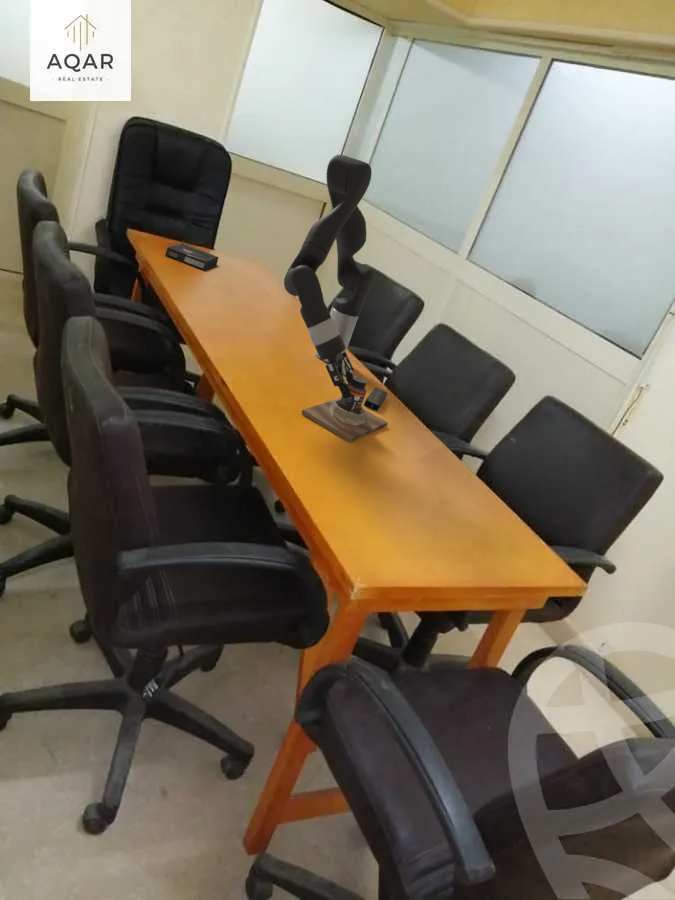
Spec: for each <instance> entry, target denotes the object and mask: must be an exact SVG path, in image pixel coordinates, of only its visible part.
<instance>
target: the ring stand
mask: <svg viewBox="0 0 675 900" xmlns="http://www.w3.org/2000/svg"><path fill="white" fill-rule="evenodd" d="M340 400H341V397H338V398H335V399H332V400H329V401H326V402H323V403H320V404H317V405H314V406H311V407H307V408H304V409H302V410H301V413H302V414H303V416H304V415H305V416H304V417H306V416H307V417H306V418H307V419H309V418H310V420H311V419H312V420H311V421H313V422H314V421H315V422H314V423H316V424H318V425H319V426H322V427H323V428H324V429H327V430H329V431H330V432H331V433H333V434H335V435H336V436H338V437H340V438H341V439H343V440H345V441H346V442H349V443H351V442H354V441H355V440H358V439H361V438H363V437H365V436H367V435H369V434H372V433H374V432H377V431H378V430H381V429H384V428H386V427H387V426H388V424H389V422H387V421H386V420H384V419H383V418H381V417H379V416H378V415H376V414H374V413H372V412H370V411H368V410H367V409H366V408H365V406H364V405H361V408H360V410H359V413H358V414H354V413H350V412H347V411H345V410H344V409H342V408H340V407H338V405H339V402H340ZM302 414H301V415H302Z"/></svg>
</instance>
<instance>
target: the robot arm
mask: <svg viewBox="0 0 675 900" xmlns="http://www.w3.org/2000/svg"><path fill="white" fill-rule="evenodd" d="M371 181H372V167H371V164H369V163H367V162H365V161H362V160H360V159H357V158H354V157H350V156H348V155H343V154H335V155H333V156H332V157H331V159H330V160H329V161H328V164H327V167H326V186H327V190H328V195H329V199H330V203H331V208H332V210H330V211H329V212H327V213H326V214H324V215H323V216H322V217H320V218H318V220H317V221H316V222H315V223H314V224H313V225H312V226H311V228H310V229H309V231H308V233H307V235H306V237H305V239H304V240H303V243H302V245H301V247H300V250H299V252H298V254H297V256H296V257H295V258H294V260H293V262H292V263H291V265H290V266H289V268H288V269H287V271H286V274H285V276H284V278H283V286H284V289H285V290H286V292H287V293H288V294H289V295H291V296H295V297H298V300H299V302H300V315H301V317H302V320H303V322H304V323H305V326H306V328H307V331H308V334H309V337H310V339H311V342H312V344H313V346H314V348H315V350H316V353H315V356H316V357H317V358H319V359H320V360H322V361H324V362H326V363H328V364H327V365H325V368H326V371H327V374H328V375H329V377H330V380H331V382H332V384H333V386H334V387H338V389H339V391H340V393H341V397H342V396H343V398H344V399H346V398H349V397H351V392H350V390H349V388H348V386H347V383H350V382H351V380H352V378H353V377H354V371H355V369H354V367H353V365H352V362H351V360H350V358H349V355H348V354H347V350H348V346H349V345H350V341H351V339H352V335H353V333H354V329H355V327H356V323H357V321H358V319H359V315H360V313H361V312H362V309H363V307H364V304H365V303H366V299H367V298H368V294H369V293H370V290H371V287H372V285H373V283H374V281H375V280H374V279H375V270H374V269H373V268H372V267H369V266H367V265H365V264H362V263H361V262H359V261H356V259H354V255H356V254H357V253H358V252H359V251H360V250H362V248H363V247H364V246H365V244H366V241H367V223H366V219H365V217H364V214H363V213H362V210H361V209H360V208H359V207H358V205H359V203H360V202H361V201H362V199H363V197H364V196H365V194H366V192H367V191H368V188H369V186H370V183H371ZM334 242H336V253H337V266H336V267H337V275H336V276H337V283H338V284H339V286H340V287H342V289H346V291H349V292H351V293H353V295H352V297H350V298H349V297H348V298H347V297H346V298H345V297H337V298H335V299H334V300H333V303H332V307H331V309H330V311H329V309H328V307H327V305H326V302H325V301H324V300H325V299H324V295H323V290H322V286H321V283H320V280H319V278H318V275H317V274H316V272H317V271H318V269H319V267H321V266H322V265H323V263H324V262H325V261H326V259H327V257H328V255H329V253H330V251H331V249H332V247H333V245H334Z"/></svg>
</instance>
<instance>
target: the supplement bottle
mask: <svg viewBox="0 0 675 900" xmlns="http://www.w3.org/2000/svg"><path fill="white" fill-rule="evenodd" d="M353 376H354V375H353ZM367 383H368V382H367V380H366V379H364V378H362V377H360V376H354V377H353V378H352V380H351V382H350V383H347V382H346V384H347V386H348V388H349V390H350V392H351V397H349V398H346V399H344V398H343V396H342V395H341V397H340V398H341V400H340V402H339V405H338V407H340V408H342V409H344V410H345V411H347V412H350V413H354V414H358V413H359V410H360V408H361V406H363V405H362V404H364V400H365V397H366V394H367V389H366V385H367Z"/></svg>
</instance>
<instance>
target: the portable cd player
mask: <svg viewBox="0 0 675 900" xmlns="http://www.w3.org/2000/svg"><path fill="white" fill-rule="evenodd" d="M164 254H165V255H166V256H165V255H164V256H165V257H167V256H169V257H168V258H170V257H172V258H174V259H173V260H175V259H176V260H175V261H177V260H178V262H181V263H182V262H183V264H185V265H187V266H190V267H193V268H196V269H198V270H200V271H205V270H207V269H210V267H211V268H212V267H216V266H217V264H218V261H219V256H217V255H214V254H211V253H209V252H207V251H204V250H201V249H199V248H196V247H193V246H191V245H188V244H186V243H184V242H183V243H177V244H175V245H171V246H168V247H167V248H166V251H165V253H164ZM172 258H171V259H172ZM215 265H216V266H215Z"/></svg>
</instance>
